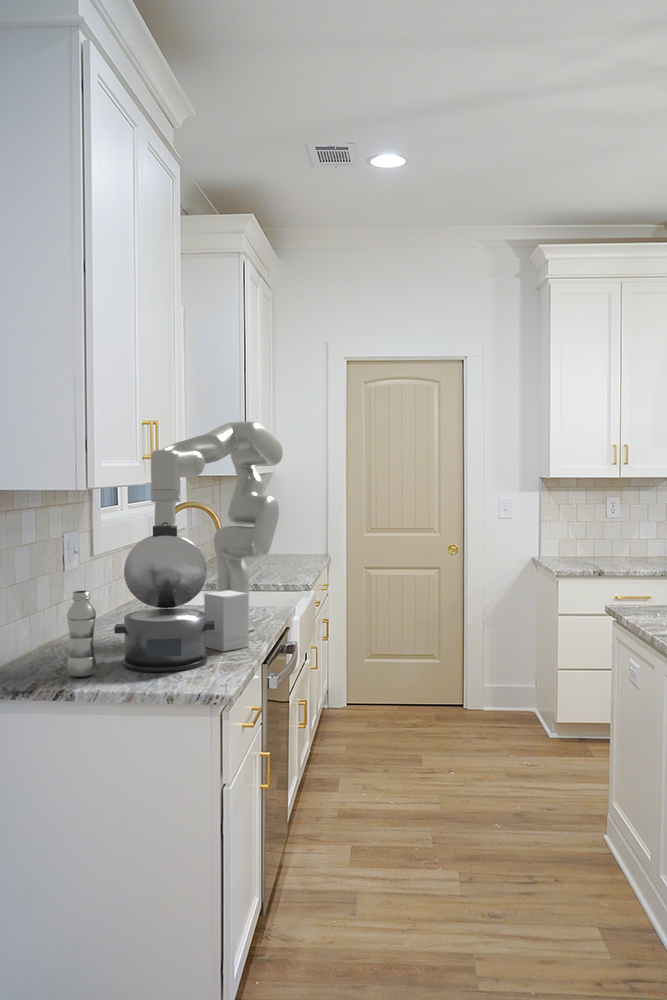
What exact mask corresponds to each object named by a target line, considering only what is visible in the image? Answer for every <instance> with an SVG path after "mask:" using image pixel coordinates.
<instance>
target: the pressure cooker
mask: <svg viewBox="0 0 667 1000" xmlns="http://www.w3.org/2000/svg"><path fill="white" fill-rule="evenodd" d="M123 620H124V622H123V623H115V625H114V634H124V658H123V660H122V666H123V668H124V669H126V670H129V671H132V672H137V673H146V674H150V673H151V674H166V673H178V672H186V671H189V670H194V669H198V668H200V667H202V666H204V665H206V664H207V663H208V654H207V650H206V649H207V647H206V630H215V624H214V621H206V616H205V611H202V610H198V609H194V608H193V609H191V608H177V607H173V608H151V609H144V610H143V609H142V610H138V611H134V612H131V613H128V614H127V613H126V614H125V615H124V619H123Z"/></svg>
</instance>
